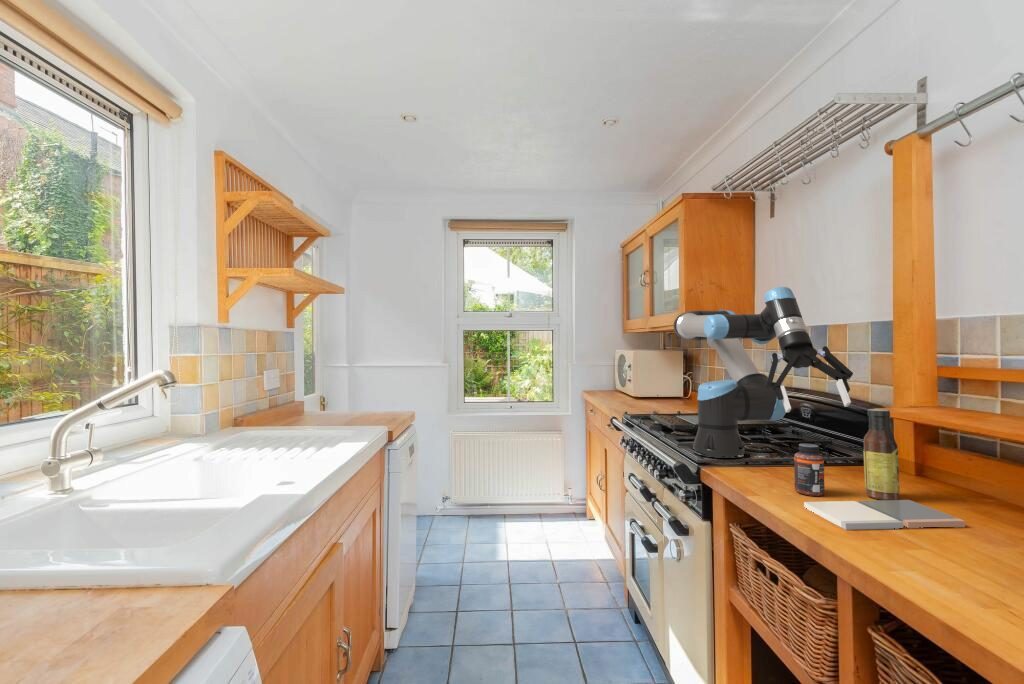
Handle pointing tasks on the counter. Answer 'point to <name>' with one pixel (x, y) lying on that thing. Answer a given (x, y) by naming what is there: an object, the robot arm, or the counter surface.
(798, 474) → the supplement bottle
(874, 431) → the sauce bottle
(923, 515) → the grey square coaster
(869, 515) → the cream square tile
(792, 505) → the counter surface
